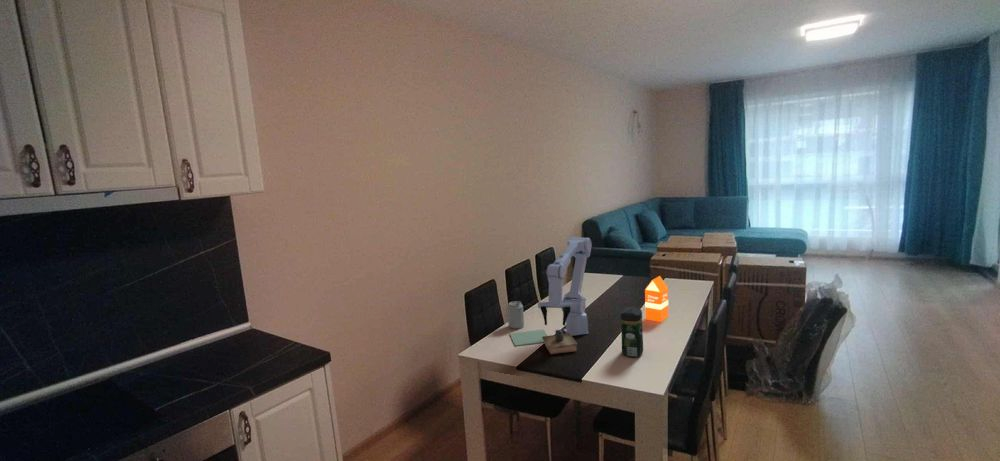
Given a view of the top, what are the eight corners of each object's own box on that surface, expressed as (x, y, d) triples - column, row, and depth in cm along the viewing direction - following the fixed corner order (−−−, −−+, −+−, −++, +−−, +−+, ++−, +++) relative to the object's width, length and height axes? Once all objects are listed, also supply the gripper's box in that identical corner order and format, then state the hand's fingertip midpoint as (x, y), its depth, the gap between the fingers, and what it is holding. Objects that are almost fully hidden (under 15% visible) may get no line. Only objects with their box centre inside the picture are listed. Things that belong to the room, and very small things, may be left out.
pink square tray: (568, 340, 196) (568, 335, 196) (576, 350, 186) (576, 345, 185) (544, 344, 195) (543, 338, 194) (550, 354, 184) (550, 348, 184)
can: (523, 329, 213) (521, 305, 212) (507, 329, 215) (505, 305, 213) (525, 323, 221) (523, 300, 219) (510, 323, 222) (508, 300, 220)
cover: (569, 334, 197) (568, 324, 196) (577, 345, 185) (577, 334, 184) (542, 338, 195) (541, 327, 194) (549, 349, 183) (549, 338, 182)
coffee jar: (625, 346, 186) (624, 304, 184) (645, 349, 182) (644, 305, 180) (619, 356, 178) (618, 311, 175) (639, 359, 174) (638, 313, 171)
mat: (543, 330, 210) (543, 329, 210) (551, 341, 197) (550, 340, 197) (509, 334, 208) (509, 333, 208) (515, 346, 195) (515, 345, 194)
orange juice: (668, 316, 217) (668, 276, 214) (660, 322, 211) (660, 280, 208) (653, 313, 222) (652, 274, 219) (645, 319, 216) (644, 278, 213)
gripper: (539, 294, 185) (538, 326, 185) (574, 294, 185) (573, 327, 185) (537, 291, 192) (537, 322, 192) (571, 291, 192) (570, 323, 192)
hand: (554, 324), depth 189 cm, fingers open, 7 cm apart
